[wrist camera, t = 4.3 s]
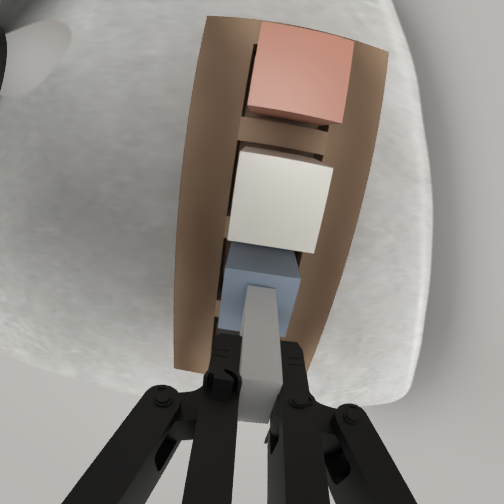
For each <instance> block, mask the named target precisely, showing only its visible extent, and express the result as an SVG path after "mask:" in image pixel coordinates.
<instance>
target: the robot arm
mask: <svg viewBox="0 0 504 504" xmlns="http://www.w3.org/2000/svg"><path fill="white" fill-rule="evenodd" d="M6 58H7V42H6V37H5V33H4V31H3V29H2V28H1V27H0V90H1V85H2V82H3V78H4V72H5V66H6ZM269 419H270V429H269V431H268V434H267V436H266V438H265V443H267V442H268V500H267V504H330V499H329V491H328V487H329V489H330V491H331V494H332V496H333V499H334V501H335V503H336V504H417V503H416V501H415V499H414V497H413V495H412V494H411V492H410V490H409V488H408V486H407V484H406V483H405V481H404V479H403V477H402V476H401V474H400V472H399V470H398V468H397V467H396V465H395V463H394V461H393V460H392V458H391V456H390V454H389V452H388V451H387V449H386V447H385V445H384V444H383V442H382V440H381V438H380V437H379V435H378V433H377V432H376V430H375V428H374V426H373V424H372V423H371V421H370V419H369V418H368V416H367V414H366V413H365V411H364V410H363V409H362V408H361V407H359V406H357V405H354V404H343V405H341V406H339V407H338V408H337V409H335V408H331V407H328V406H325V405H322V404H320V403H318V402H317V401H316V400H315V398H314V397H313V396H312V395H311V394H310V392H309V386H308V380H307V373H306V367H305V361H304V354H303V350H302V348H301V347H300V345H299V344H298V342H292V341H282V340H280V336H279V323H278V310H277V298H276V289H272V288H265V287H258V286H252V285H248V286H247V292H246V298H245V303H244V309H243V315H242V321H241V328H240V336H238V335H231V334H225V333H220V334H219V335H218V336H217V337H216V338H215V339H214V343H213V348H212V353H211V358H210V363H209V367H208V370H207V371H206V373H205V375H204V379H203V386H202V387H201V388H199V389H197V390H195V391H191V392H182V393H178V391H177V390H176V389H174V388H172V387H171V386H167V385H156V386H153V387H151V388H149V389H148V390H147V391H146V392H145V394H144V395H143V396H142V398H141V399H140V400H139V402H138V403H137V404H136V406H135V407H134V408H133V409H132V411H131V412H130V413H129V415H128V416H127V417H126V419H125V420H124V421H123V423H122V424H121V425H120V427H119V428H118V429H117V431H116V432H115V434H114V435H113V436H112V437H111V439H110V440H109V442H108V443H107V444H106V445H105V447H104V448H103V449H102V451H101V452H100V453H99V455H98V456H97V457H96V459H95V460H94V461H93V463H92V464H91V465H90V467H89V468H88V469H87V471H86V472H85V473H84V475H83V476H82V477H81V478H80V480H79V481H78V482H77V484H76V485H75V487H74V488H73V489H72V491H71V492H70V493H69V494H68V496H67V497H66V498H65V500H64V501H63V502H62V504H145V503H146V501H147V499H148V497H149V496H150V494H151V492H152V491H153V489H154V487H155V485H156V484H157V482H158V480H159V479H160V477H161V475H162V474H163V472H164V470H165V468H166V466H167V465H168V463H169V461H170V460H171V458H172V456H173V454H174V453H175V451H176V449H177V447H178V445H179V444H180V442H181V440H191V439H193V444H192V449H191V455H190V461H189V466H188V471H187V477H186V483H185V489H184V495H183V500H182V504H231V501H232V488H233V475H234V461H235V447H236V434H237V421H245V422H255V423H266V424H267V423H268V422H269Z"/></svg>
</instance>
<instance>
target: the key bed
mask: <svg viewBox="0 0 504 504" xmlns="http://www.w3.org/2000/svg"><path fill="white" fill-rule="evenodd" d="M262 22H270V21H263V20H255V19H246V18H235V17H219V16H207V20H206V24H205V28H204V33H203V38H202V43H201V48H200V53H199V58H198V63H197V68H196V74H195V80H194V85H193V92H192V98H191V104H190V111H189V118H188V125H187V132H186V140H185V148H184V156H183V165H182V175H181V185H180V196H179V208H178V221H177V236H176V254H175V278H174V368H176V369H181V370H186V371H191V372H197V373H202V374H205V373H206V371H207V370H208V367H209V363H210V358H211V353H212V348H213V343H214V339H215V338H216V337H217V336H218V334H219V329H220V328H218V322H219V313H220V305H221V296H222V288H223V280H224V272H225V266H226V262H227V258H228V254H229V250H230V246H231V242H232V241H230V240H227V238H228V231H229V223H230V216H231V209H232V202H233V195H234V188H235V181H236V174H237V167H238V161H239V154H240V151H241V150H242V149H243V148H244V147H245V146H249V147H255V148H262V149H268V150H274V151H280V152H285V153H291V154H296V155H301V156H306V157H311V158H314V159H316V160H318V161H320V162H322V163H324V164H326V165H328V166H330V167H332V168H333V173H332V178H331V182H330V187H329V192H328V196H327V201H326V205H325V209H324V214H323V218H322V222H321V227H320V231H319V235H318V239H317V243H316V247H315V251H314V254H313V253H307V252H300V251H294V253H295V257H296V261H297V265H298V269H299V273H300V277H301V281H300V285H299V289H298V293H297V296H296V300H295V304H294V307H293V311H292V315H291V318H290V322H289V325H288V329H287V332H286V336H285V337H280V340H282V341H292V342H298V344H299V345H300V347H301V348H302V350H303V354H304V361H305V367H306V373H307V371H308V368H309V366H310V363H311V361H312V358H313V356H314V353H315V351H316V348H317V345H318V343H319V340H320V337H321V335H322V332H323V329H324V326H325V324H326V321H327V318H328V315H329V312H330V309H331V306H332V303H333V301H334V298H335V294H336V291H337V288H338V285H339V282H340V279H341V276H342V273H343V269H344V266H345V263H346V259H347V256H348V253H349V249H350V246H351V242H352V239H353V235H354V232H355V228H356V224H357V220H358V217H359V213H360V209H361V205H362V201H363V197H364V192H365V188H366V184H367V180H368V175H369V171H370V166H371V161H372V156H373V152H374V147H375V141H376V136H377V131H378V125H379V119H380V113H381V107H382V101H383V94H384V87H385V79H386V71H387V63H388V53H389V52H387V51H384V50H382V49H379V48H376V47H373V46H370V45H367V44H364V43H361V42H358V41H355V40H352V39H348V38H345V37H341V36H338V35H334V34H330V33H326V32H322V31H318V30H314V29H309V28H304V27H300V26H294V25H289V24H283V23H277V22H270V23H276V24H283V25H288V26H294V27H299V28H304V29H309V30H313V31H318V32H322V33H326V34H330V35H334V36H337V37H341V38H344V39H348V40H351V41H354V48H353V56H352V63H351V71H350V77H349V84H348V91H347V97H346V103H345V109H344V115H343V121H342V124H331V125H320V126H319V125H314V124H309V123H305V122H300V121H295V120H289V119H284V118H278V117H273V116H267V115H260V114H254V113H251V112H250V110H249V108H248V105H247V104H248V98H249V92H250V86H251V80H252V74H253V68H254V63H255V57H256V52H257V46H258V41H259V35H260V30H261V25H262Z"/></svg>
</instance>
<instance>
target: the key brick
mask: <svg viewBox="0 0 504 504" xmlns="http://www.w3.org/2000/svg"><path fill="white" fill-rule="evenodd" d="M353 48H354V41H351V40H348V39H344V38H341V37H337V36H334V35H330V34H326V33H322V32H318V31H313V30H309V29H304V28H299V27H294V26H288V25H283V24H276V23H270V22H262V25H261V30H260V35H259V41H258V46H257V52H256V57H255V63H254V68H253V74H252V80H251V86H250V92H249V98H248V104H247V105H248V108H249V110H250V112H251V113H254V114H260V115H267V116H273V117H278V118H284V119H289V120H295V121H300V122H305V123H309V124H314V125H319V126H320V125H331V124H342V121H343V115H344V109H345V103H346V97H347V91H348V84H349V77H350V71H351V63H352V56H353Z"/></svg>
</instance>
